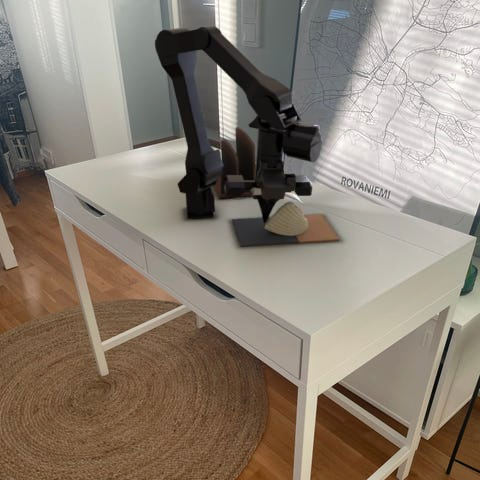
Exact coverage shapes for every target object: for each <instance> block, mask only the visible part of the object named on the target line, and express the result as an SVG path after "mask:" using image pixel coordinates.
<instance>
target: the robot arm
mask: <svg viewBox="0 0 480 480" xmlns="http://www.w3.org/2000/svg"><path fill="white" fill-rule="evenodd" d="M154 48H155V49H154V50H155V52H156V55H157V57H158V60H159V63H160V65H161V68H162V69H163V70H164V71H165V72H166V74H167V75H168V76H169V79H170V80H171V83H172V87H173V92H174V95H175V101H176V104H177V108H178V112H179V117H180V121H181V125H182V129H183V134H184V139H185V142H186V146H187V147H186V148H187V149H186V155H185V160H184V167H185V175H184V176H183V177H182V178H181V179H180V180H179V181H178V183H177V187H178V190H179V192H180V194H185V195H184V196H185V215H186V218H187V219H204V218H206V219H207V218H214V217H215V214H214V213H216V203H215V202H216V201H215V193H214V192H213V190H212V188H214V187H213V186H215V185H216V183H217V180H218V179H219V178H220V176H221V175H222V167H224V165H223V163H222V159H221V149H219V148H218V149H216V150H215V149H214V147H212V145H211V144H210V142H209V137H208V133H207V128H206V123H205V118H204V114H203V109H202V105H201V101H200V95H199V91H198V86H197V83H196V77H195V71H196V65H197V61H198V54H197V53H198V52H197V51H203V52H204V53H205V54H206V55H207V56H208V57H209V58H210V59H211V60H212V61H213V62H214V63H215V64H216V65H217V66H218V67H219V68H220V69H221V70H222V71H223V72H224V73H225V74H226V75H227V76H228V77H229V78H230V79H231V80H232V81H233V82H234V83H235V84H236V85H237V86H238V87H239V88H240V89H241V90H242V91H243V93H244V94H245V96H246V100H247V102H248V105H249V106H250V107H251V109H252V110H253V111H254V113H255V114H256V116H255V118H254V119H253V120H252V121H251V122H249V123H248V127H249V128H251V129H256V130H257V140H256V141H257V142H256V152H255V161H256V169H255V180H243V177H242V175H226V176H225V177H224V190H225V194H226V195H227V196H241V195H242V194H243V193H245V190H250V193H251V195H252V196H251V197H252V199H253V200H257V203H258V206H259V210H260V214H261V218H263V222H264V223H266V222H267V219H268V217H270V215H271V213H272V211H273V209H274V207H275V205H276V204H277V203H278V202H279V201H280V200H284V199H285V196H286V193H291V194H292V192H294V193H295V194H296V195H297V197H311V196H312V195H313V194H312V193H313V183H312V181H310V179H309V178H308V177H307V175H305V174H303V175H301V174H300V175H298V174H295V173H287V172H286V173H285V169H284V167H285V166H284V164H285V163H284V162H285V161H284V157H285V156H286V157H287V158H291V159H295V160H300V161H305V162H310V163H316V162H317V160H318V159H319V157H320V155H321V152H322V148H323V137H322V133H321V132H320V130H321V126H320V125H318V124H307V123H302V118H301V116H300V114H299V112H298V110H297V107H296V106H295V103H294V101H293V93H292V91H291V89H290V88H289V87H287V86H286V85H285V84H283V83H282V82H280V81H279V80H277V79H276V78H273V77H272V76H269V75H267V74H265V73H263V72H262V71H260V70H259V69H258V68H257V67H256V66H255V64H253V63H252V62H251V61H250V60H249V59H248V58H247V56H245V54H243V53H242V52H241V51H240V50H239V49H238V48H237V47H236V45H234V44H233V43H232V42H231V41H230V39H229V40H228V38H227V37H226V36H225V35H224V34H223V33H222V30H220V28H219V27H217V26H216V25H207V26H206V25H205V26H201V27H198V28H195V29H192V30H189V29H188V28H186V27H177V28H169V29H162V30H160V31H159V32H158V34H157V36H156V38H155V39H154ZM283 116H285V117H284V118H282V117H283ZM284 155H285V156H284ZM241 197H242V196H241Z"/></svg>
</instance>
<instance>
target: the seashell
mask: <svg viewBox="0 0 480 480" xmlns="http://www.w3.org/2000/svg"><path fill="white" fill-rule="evenodd" d="M304 215H305V214H304V211H303V210H302V208H301V207H300V206H298V204H296V203H295V202H294V201H287V202H285V203H283V204H282V205H280V207H279V208H277V210H276V211H275V212H274V213H273V214H272V215H271V216H269V217H270V218H269V219H268V221H267V222H266V225H265V227H264V228H265V229H267V230H269V231H271V232H274V233H277V234H281V235H285V236H295V235H299V234H302V233H303V232H305V231H306V230H307V228H308V222H307V219H306V218H305V217H304Z"/></svg>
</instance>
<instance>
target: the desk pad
mask: <svg viewBox="0 0 480 480" xmlns="http://www.w3.org/2000/svg"><path fill="white" fill-rule="evenodd" d="M270 217H271V216H269V217H268V219H269V218H270ZM304 217H305V218H306V219H307V222H308V228H307V230H306V231H305V232H303V233H302V234H299V235H295V236H285V235H281V234H277V233H274V232H271V231H269V230H267V229H265V228H264V227H265V225H266V223H264V222H263V218H262V217H248V218H246V217H245V218H232V224H233V227H234V230H235V233H236V236H237V239H238V244H239V246H240V247H241V248H242V247H258V246H275V245H289V244H306V243H308V244H309V243H323V242H324V243H325V242H339V241H340V238H339V237H338V235H337V234H336V232H335V231H334V230H333V228H332V227H331V225H330V224H329V222H328V221H327V220H326V218H325V217H324V216H323V214H322V213H319V214H317V213H316V214H304ZM268 219H267V221H268Z"/></svg>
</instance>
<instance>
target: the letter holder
mask: <svg viewBox="0 0 480 480" xmlns="http://www.w3.org/2000/svg"><path fill="white" fill-rule="evenodd" d="M220 153H221V161H222V163H223V165H224V167H222V175H221V176H220V178H219V179H218V180H217V183H216V185H215V186H213V187H212V188H214V191H215V192H216V194H217V195H218V197H219V198H220V199H228V198H239V197H249V196H250V197H252V195H251V193H250V190H245V193H243V194H242V195H241V196H227V195H226V194H225V190H224V177H225V176H226V175H242V177H243V180H255V169H256V145H255V142H254V141H253V140H252V138H251V136H250V135H249V134H248V133H247V132H246V131H245V130H244V129H242V128H241V127H238V126H236V127H235V149H234V148H233V146H232V145H231V143H230V142H229V141H228V140H227V139H225V138H221V140H220Z"/></svg>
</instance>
